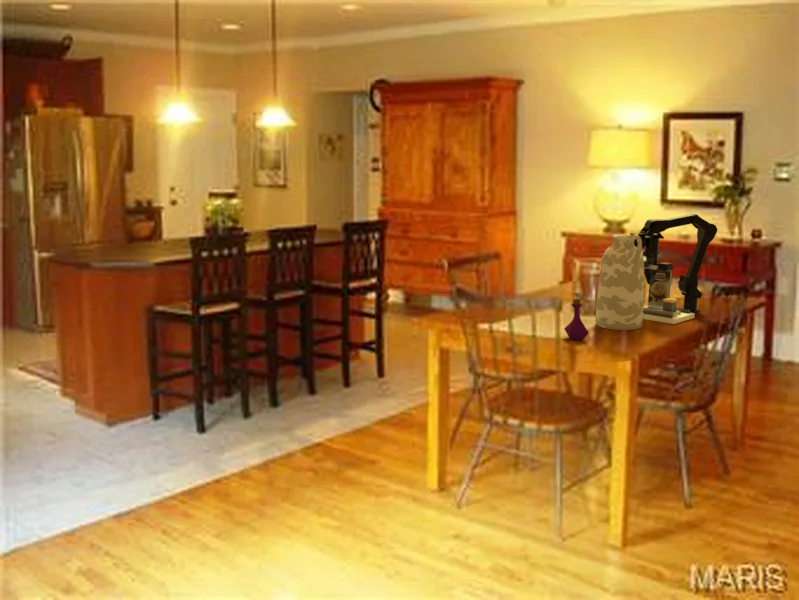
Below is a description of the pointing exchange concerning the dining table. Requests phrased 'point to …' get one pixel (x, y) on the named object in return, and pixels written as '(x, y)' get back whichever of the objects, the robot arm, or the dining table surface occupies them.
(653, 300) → the coffee box
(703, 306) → the dining table surface
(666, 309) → the lever
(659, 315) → the panel
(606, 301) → the vase
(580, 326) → the perfume bottle
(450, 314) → the dining table surface
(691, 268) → the robot arm
